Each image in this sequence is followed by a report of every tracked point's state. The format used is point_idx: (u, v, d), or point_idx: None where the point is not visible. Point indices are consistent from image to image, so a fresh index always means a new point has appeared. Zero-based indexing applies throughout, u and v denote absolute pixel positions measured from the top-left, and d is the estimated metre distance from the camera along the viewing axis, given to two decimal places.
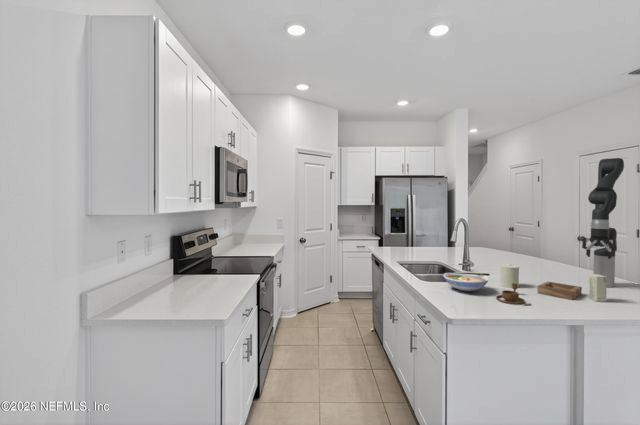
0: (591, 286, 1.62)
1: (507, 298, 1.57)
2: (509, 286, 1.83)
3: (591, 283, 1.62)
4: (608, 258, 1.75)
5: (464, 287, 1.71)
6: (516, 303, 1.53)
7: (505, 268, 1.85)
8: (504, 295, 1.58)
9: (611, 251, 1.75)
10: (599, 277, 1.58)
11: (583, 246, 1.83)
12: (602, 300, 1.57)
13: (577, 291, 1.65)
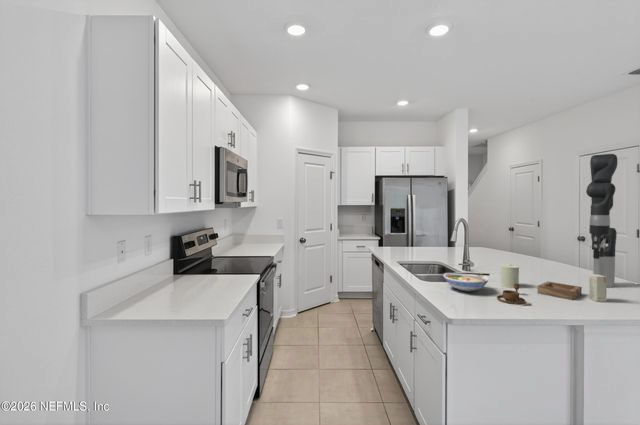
0: (591, 286, 1.62)
1: (507, 298, 1.57)
2: (509, 286, 1.83)
3: (591, 283, 1.62)
4: (603, 256, 1.62)
5: (464, 287, 1.71)
6: (516, 303, 1.53)
7: (505, 268, 1.85)
8: (504, 295, 1.58)
9: None
10: (599, 277, 1.58)
11: (598, 247, 1.55)
12: (602, 300, 1.57)
13: (577, 291, 1.65)
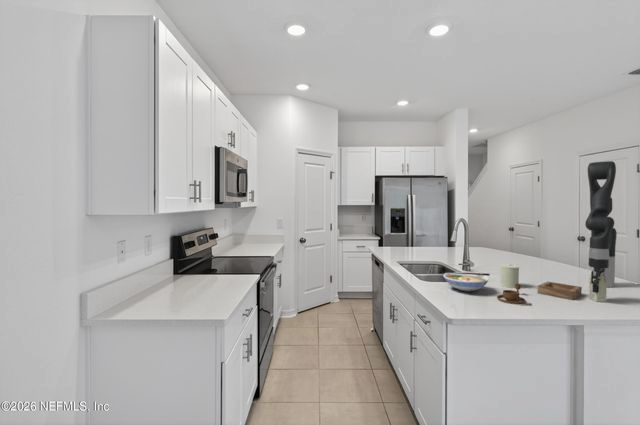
0: (591, 286, 1.62)
1: (507, 297, 1.58)
2: (509, 286, 1.83)
3: (591, 283, 1.62)
4: None
5: (464, 287, 1.71)
6: (516, 302, 1.54)
7: (505, 268, 1.85)
8: (504, 294, 1.59)
9: None
10: (599, 277, 1.58)
11: (597, 282, 1.55)
12: (602, 300, 1.57)
13: (577, 291, 1.65)
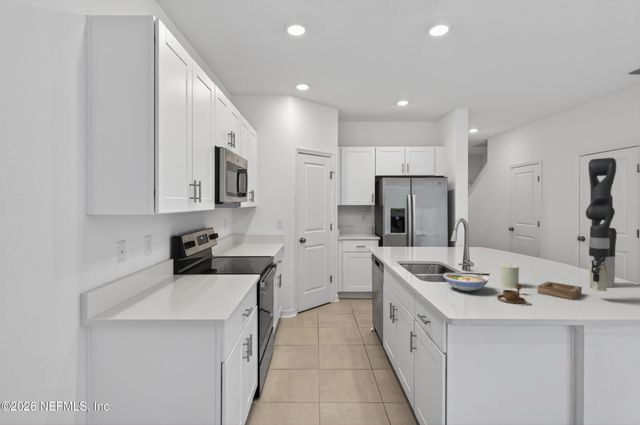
0: (591, 275, 1.62)
1: (507, 297, 1.58)
2: (509, 286, 1.83)
3: (591, 272, 1.62)
4: None
5: (464, 287, 1.71)
6: (516, 302, 1.54)
7: (505, 268, 1.85)
8: (504, 294, 1.59)
9: None
10: (599, 266, 1.58)
11: (598, 271, 1.55)
12: (603, 289, 1.57)
13: (577, 291, 1.65)
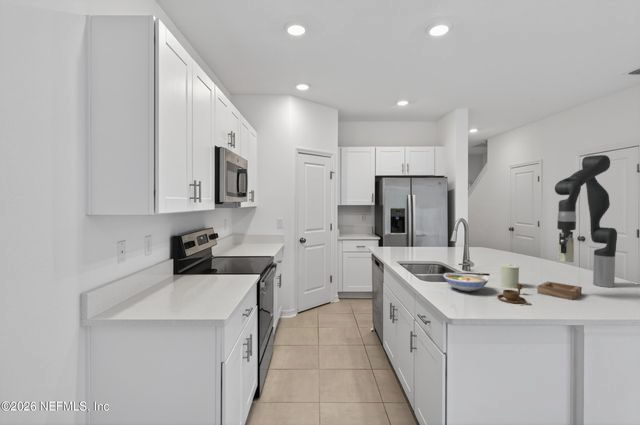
0: (560, 248, 1.70)
1: (507, 297, 1.58)
2: (509, 286, 1.83)
3: None
4: None
5: (464, 287, 1.71)
6: (516, 302, 1.54)
7: (505, 268, 1.85)
8: (504, 294, 1.59)
9: None
10: None
11: (565, 242, 1.63)
12: (570, 260, 1.65)
13: (577, 291, 1.65)
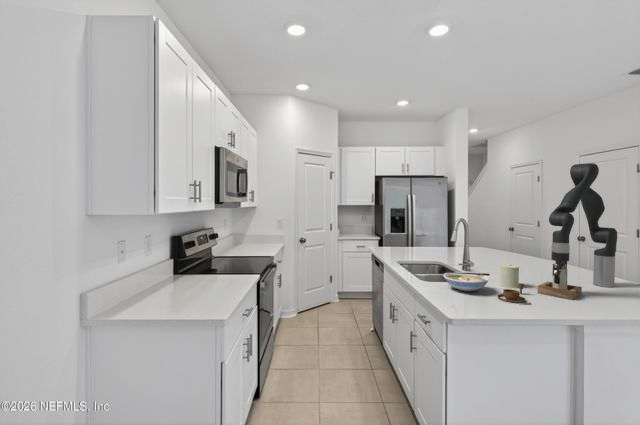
0: None
1: (507, 296, 1.59)
2: (509, 286, 1.83)
3: None
4: None
5: (464, 287, 1.71)
6: (515, 301, 1.55)
7: (505, 268, 1.85)
8: (504, 293, 1.61)
9: None
10: None
11: (558, 273, 1.66)
12: None
13: (577, 291, 1.65)
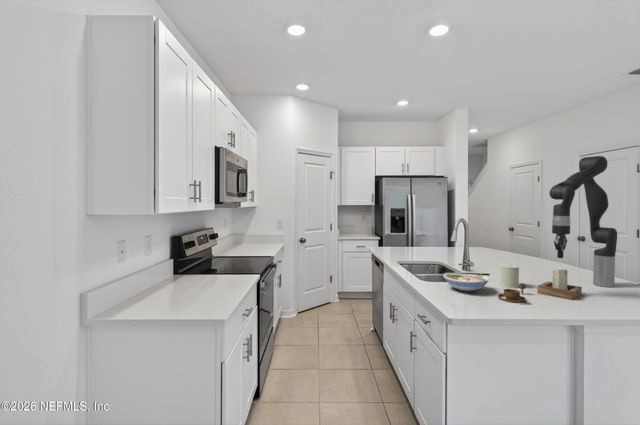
0: (554, 279, 1.72)
1: (507, 296, 1.60)
2: (509, 286, 1.83)
3: (554, 276, 1.72)
4: (562, 257, 1.70)
5: (464, 287, 1.71)
6: (515, 301, 1.56)
7: (505, 268, 1.85)
8: (505, 293, 1.61)
9: (562, 250, 1.70)
10: (561, 270, 1.68)
11: (561, 248, 1.68)
12: None
13: (577, 291, 1.65)
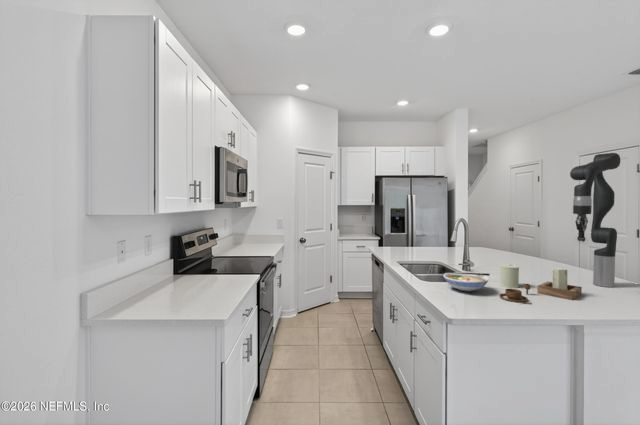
0: (554, 279, 1.72)
1: (508, 296, 1.61)
2: (509, 286, 1.83)
3: (554, 276, 1.72)
4: None
5: (464, 287, 1.71)
6: (515, 301, 1.57)
7: (505, 268, 1.85)
8: (506, 293, 1.62)
9: None
10: (561, 270, 1.68)
11: (583, 227, 1.69)
12: None
13: (577, 291, 1.65)
